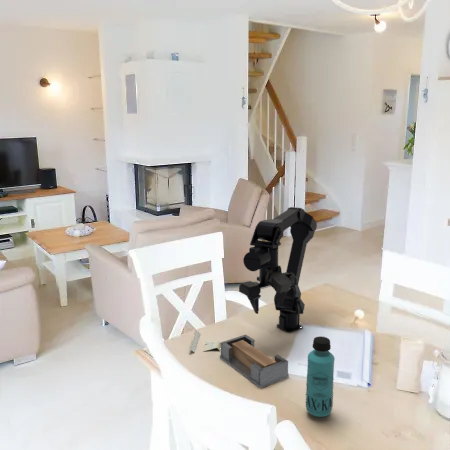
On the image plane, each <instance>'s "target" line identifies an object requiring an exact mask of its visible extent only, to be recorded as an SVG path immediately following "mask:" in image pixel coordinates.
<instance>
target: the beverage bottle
mask: <svg viewBox="0 0 450 450" xmlns="http://www.w3.org/2000/svg"><path fill="white" fill-rule="evenodd" d="M312 348H313V349H312V350H311V351H309V352H308V353H307V371H306V372H307V373H306V381H305V384H306V389H305V399H304V400H305V401H304V402H305V408H306V411H307V412H308V413H309V414H310V415H312V416H314V417H327V416H329V415H330V414H331V412H332V411H333V406H334V405H333V404H334V390H335V387H334V386H335V384H334V376H335V375H334V372H335V371H334V370H335V356H334V354H333V353H332V352H330V351H331V348H332V347H331V340H330V338H328V337H326V336H316V337H314V338H313V343H312Z"/></svg>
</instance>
